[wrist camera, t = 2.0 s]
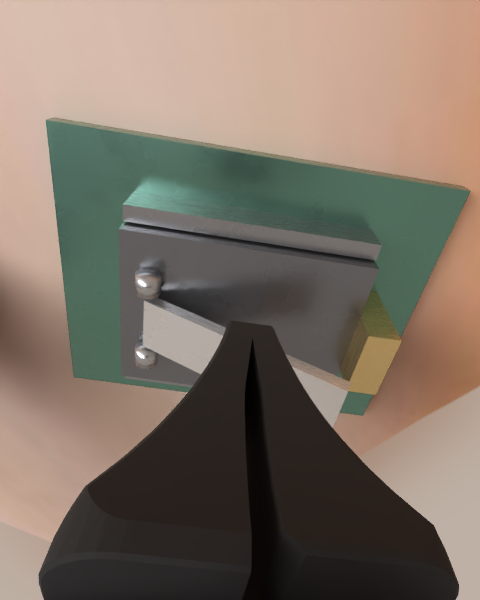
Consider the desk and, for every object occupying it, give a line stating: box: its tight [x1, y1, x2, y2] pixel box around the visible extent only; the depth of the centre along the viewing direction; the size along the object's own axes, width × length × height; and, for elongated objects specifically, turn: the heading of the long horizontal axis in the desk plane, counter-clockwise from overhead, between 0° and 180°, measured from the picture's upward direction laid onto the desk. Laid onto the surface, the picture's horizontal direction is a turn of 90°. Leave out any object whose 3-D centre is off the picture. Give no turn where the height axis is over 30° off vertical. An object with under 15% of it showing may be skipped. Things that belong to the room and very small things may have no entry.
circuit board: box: [46, 118, 470, 416], centre depth 21 cm, size 20×16×5 cm
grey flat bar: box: [143, 298, 351, 428], centre depth 18 cm, size 10×3×1 cm, turn 81°
